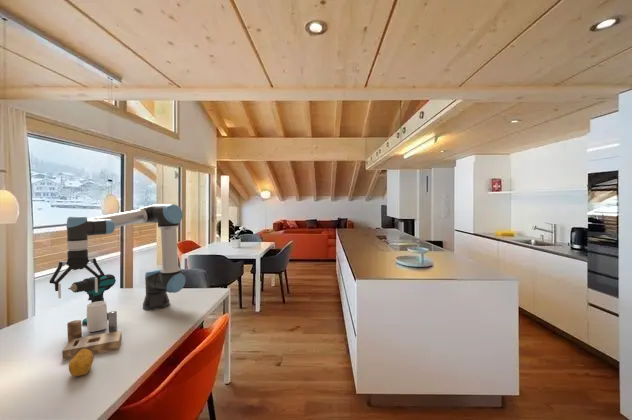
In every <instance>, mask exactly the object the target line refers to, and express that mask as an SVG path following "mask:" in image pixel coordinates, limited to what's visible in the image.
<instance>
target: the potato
mask: <svg viewBox="0 0 632 420" xmlns="http://www.w3.org/2000/svg"><path fill="white" fill-rule="evenodd" d="M94 359H95V358H94V354H92V352H91V351H90V350H88V349H83V350H81V351H79V352H78V353H77V354H76V355H75V356H74V357H73V358H72V359H70V361H69V363H68V372H69V373H70V375H71V376H74V377H79V376H84V375H87V374H88V372H89V371H90V370H91V368H92V365H93V363H94Z"/></svg>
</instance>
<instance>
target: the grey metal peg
mask: <svg viewBox="0 0 632 420" xmlns="http://www.w3.org/2000/svg"><path fill="white" fill-rule="evenodd" d="M107 313H108V319H107V322H108V333H110V332H116V331H118V319H117V317H118V315H117V311H116V310H112V311H109V312H107Z"/></svg>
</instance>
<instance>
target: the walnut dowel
mask: <svg viewBox="0 0 632 420" xmlns="http://www.w3.org/2000/svg"><path fill="white" fill-rule="evenodd" d="M82 333H83V330H82V320H81V319H76V320H72V321H69V322H67V342H68V341H69V340H70V339H76V338H81V337H83V334H82Z"/></svg>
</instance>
